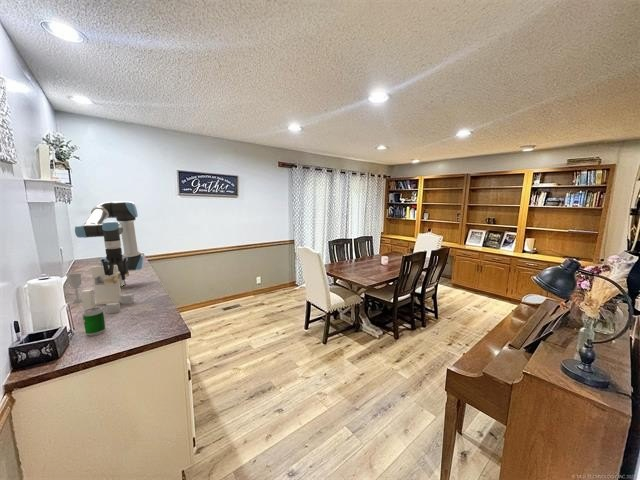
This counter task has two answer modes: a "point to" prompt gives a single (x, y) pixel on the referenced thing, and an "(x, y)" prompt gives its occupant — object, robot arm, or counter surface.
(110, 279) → the rail
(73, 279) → the chalice
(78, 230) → the robot arm
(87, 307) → the white shelf
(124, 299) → the stand
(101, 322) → the soda can
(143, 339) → the counter surface
